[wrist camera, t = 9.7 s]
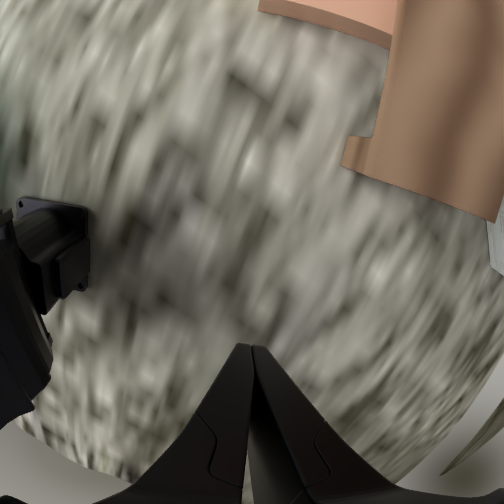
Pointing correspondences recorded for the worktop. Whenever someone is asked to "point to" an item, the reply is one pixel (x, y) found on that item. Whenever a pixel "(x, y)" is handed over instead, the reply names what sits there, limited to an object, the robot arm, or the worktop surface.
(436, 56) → the shelf
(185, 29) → the worktop surface
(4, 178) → the worktop surface
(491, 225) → the supplement box
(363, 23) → the tile
